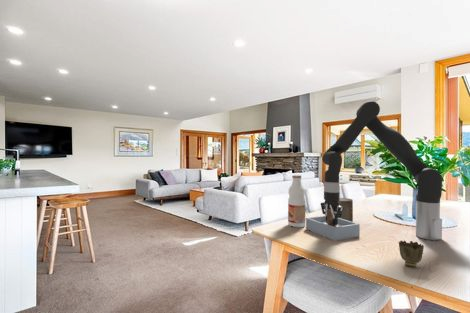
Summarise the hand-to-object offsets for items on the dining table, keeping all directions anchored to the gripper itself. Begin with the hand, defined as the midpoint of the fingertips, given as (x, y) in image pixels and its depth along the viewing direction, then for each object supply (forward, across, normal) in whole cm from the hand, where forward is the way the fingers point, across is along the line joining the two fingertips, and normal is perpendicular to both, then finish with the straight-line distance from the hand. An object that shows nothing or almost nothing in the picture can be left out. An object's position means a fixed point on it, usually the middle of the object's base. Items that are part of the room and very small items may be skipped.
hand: (331, 224), depth 131 cm
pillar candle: (+4, +12, -21) cm, 24 cm away
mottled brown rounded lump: (+4, -41, +3) cm, 41 cm away
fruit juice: (+5, +18, +8) cm, 20 cm away
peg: (+2, 0, 0) cm, 2 cm away
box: (+4, 0, 0) cm, 4 cm away
